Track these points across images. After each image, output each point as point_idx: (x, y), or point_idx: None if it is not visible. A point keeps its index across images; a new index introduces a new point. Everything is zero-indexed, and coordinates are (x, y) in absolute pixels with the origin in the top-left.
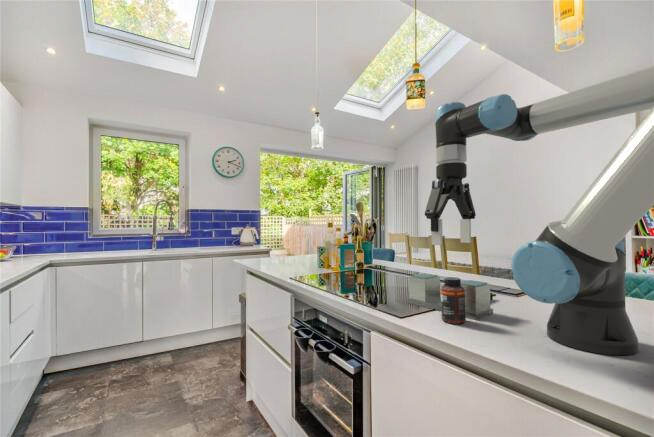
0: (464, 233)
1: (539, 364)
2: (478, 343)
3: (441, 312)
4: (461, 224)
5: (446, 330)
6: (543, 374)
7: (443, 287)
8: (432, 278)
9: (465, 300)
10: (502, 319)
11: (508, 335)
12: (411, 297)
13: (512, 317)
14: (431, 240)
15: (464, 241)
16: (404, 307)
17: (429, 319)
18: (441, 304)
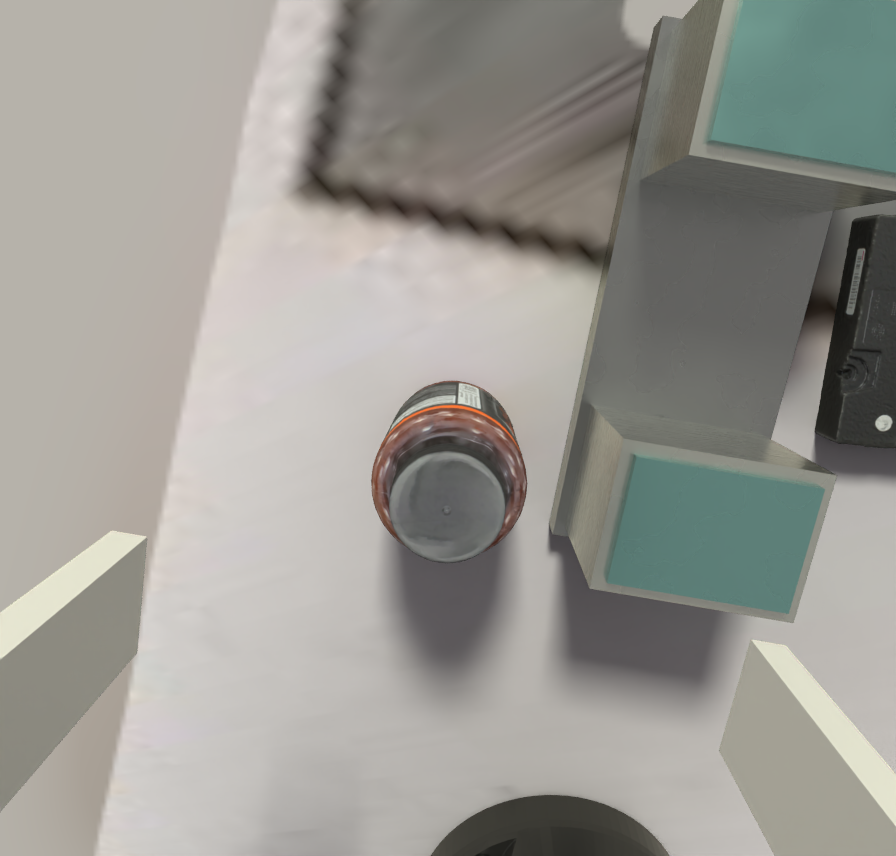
0: (789, 770)
1: (186, 813)
2: (228, 623)
3: (416, 395)
4: (879, 836)
5: (287, 468)
6: (117, 831)
7: (391, 448)
8: (799, 175)
9: (587, 487)
10: (652, 612)
11: (414, 685)
12: (670, 48)
13: (724, 639)
14: (84, 552)
15: (744, 697)
16: (533, 76)
17: (394, 328)
18: (410, 405)
